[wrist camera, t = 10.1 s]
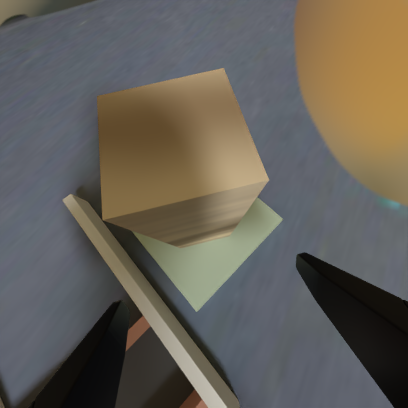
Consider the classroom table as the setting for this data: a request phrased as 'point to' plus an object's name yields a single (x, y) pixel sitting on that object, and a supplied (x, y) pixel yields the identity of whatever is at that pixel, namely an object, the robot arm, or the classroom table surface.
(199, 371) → the channel
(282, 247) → the classroom table surface
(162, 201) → the maple block
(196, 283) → the green pad
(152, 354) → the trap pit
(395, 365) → the robot arm
